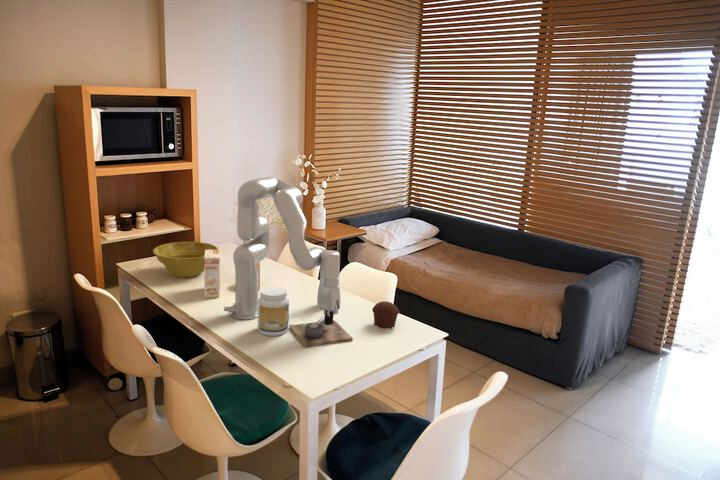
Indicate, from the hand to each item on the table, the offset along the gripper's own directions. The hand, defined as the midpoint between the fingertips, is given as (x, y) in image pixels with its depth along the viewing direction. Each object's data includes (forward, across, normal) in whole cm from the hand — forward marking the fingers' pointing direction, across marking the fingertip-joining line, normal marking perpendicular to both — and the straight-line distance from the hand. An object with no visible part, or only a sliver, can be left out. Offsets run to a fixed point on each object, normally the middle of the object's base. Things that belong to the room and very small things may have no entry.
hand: (328, 324), depth 215 cm
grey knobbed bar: (+2, 0, -5) cm, 5 cm away
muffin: (+4, +7, +25) cm, 26 cm away
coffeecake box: (+2, -66, -20) cm, 69 cm away
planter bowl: (+1, -99, -19) cm, 101 cm away
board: (+3, 0, -4) cm, 6 cm away
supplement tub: (+3, -12, -19) cm, 23 cm away
